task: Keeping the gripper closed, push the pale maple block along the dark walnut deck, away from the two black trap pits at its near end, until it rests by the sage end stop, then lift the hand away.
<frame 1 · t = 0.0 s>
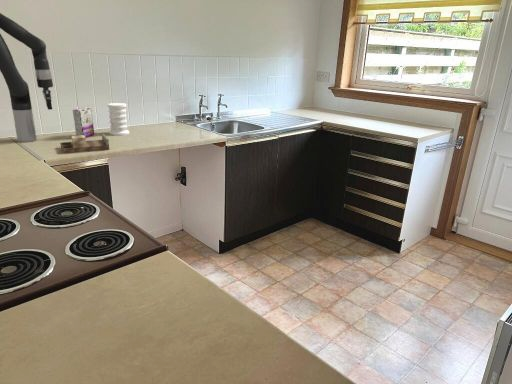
hand: (49, 108, 217), 17 cm above the counter, tool pointing down, fingers open, 8 cm apart
decorative container: (119, 133, 242), on the counter
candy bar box: (85, 136, 231), on the counter
maple block: (79, 144, 203), point 2 cm above the counter, touching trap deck
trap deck: (85, 148, 205), on the counter
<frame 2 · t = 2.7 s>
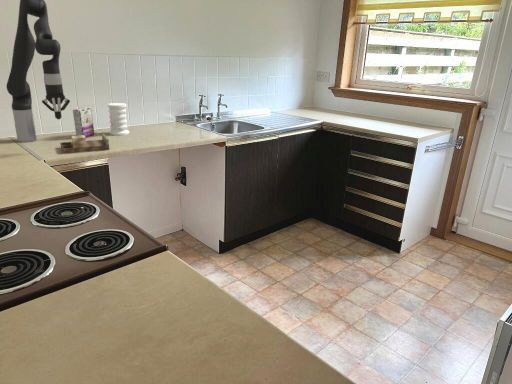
hand: (58, 119, 195), 16 cm above the counter, tool pointing down, fingers closed
nothing on the counter moved.
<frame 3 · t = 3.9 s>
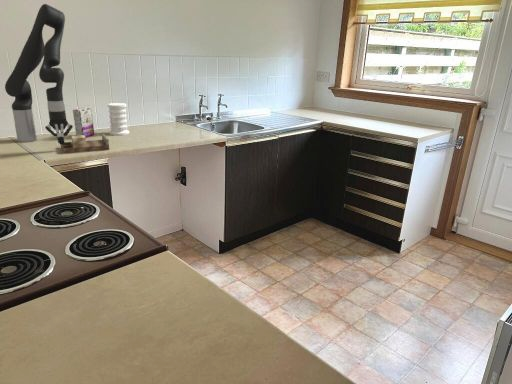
hand: (61, 143, 199), 3 cm above the counter, tool pointing down, fingers closed
nothing on the counter moved.
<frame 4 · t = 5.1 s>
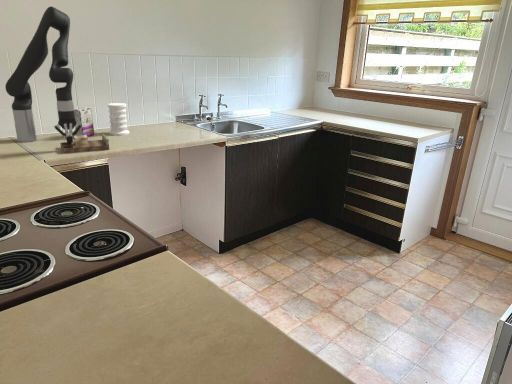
hand: (70, 143, 200), 3 cm above the counter, tool pointing down, fingers closed
maple block: (81, 144, 203), point 2 cm above the counter, touching gripper, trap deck
everything else where it was.
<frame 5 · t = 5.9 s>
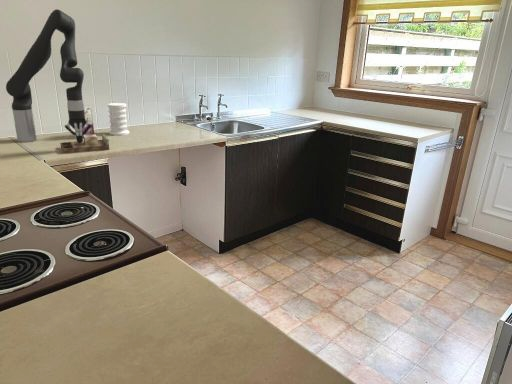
hand: (80, 142, 203), 3 cm above the counter, tool pointing down, fingers closed
maple block: (91, 143, 206), point 3 cm above the counter, touching gripper
everything else where it was.
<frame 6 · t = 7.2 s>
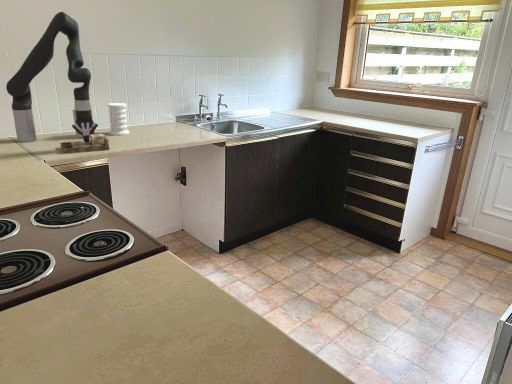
hand: (86, 142, 204), 3 cm above the counter, tool pointing down, fingers closed
maple block: (97, 142, 207), point 2 cm above the counter, touching gripper, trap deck
everything else where it was.
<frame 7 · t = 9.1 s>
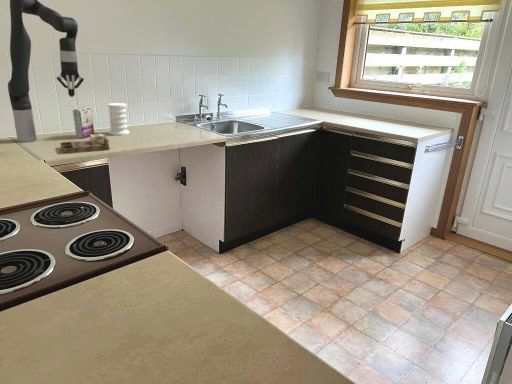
hand: (71, 96, 198), 26 cm above the counter, tool pointing down, fingers closed
maple block: (97, 142, 207), point 2 cm above the counter, touching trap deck
everything else where it was.
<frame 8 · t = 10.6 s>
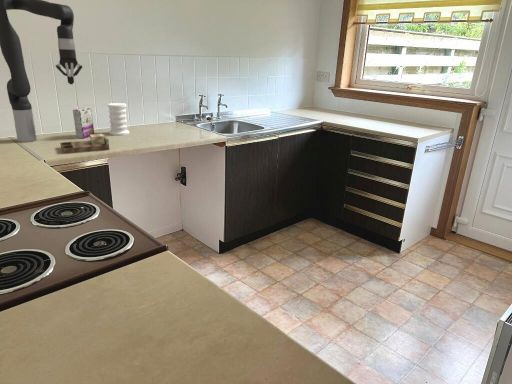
hand: (71, 84, 201), 32 cm above the counter, tool pointing down, fingers closed
nothing on the counter moved.
at the end: maple block 0.8 cm from the target spot on the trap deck, point 2.5 cm above the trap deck's base; maple block tilted 0°; maple block moved 9.0 cm from its start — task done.
